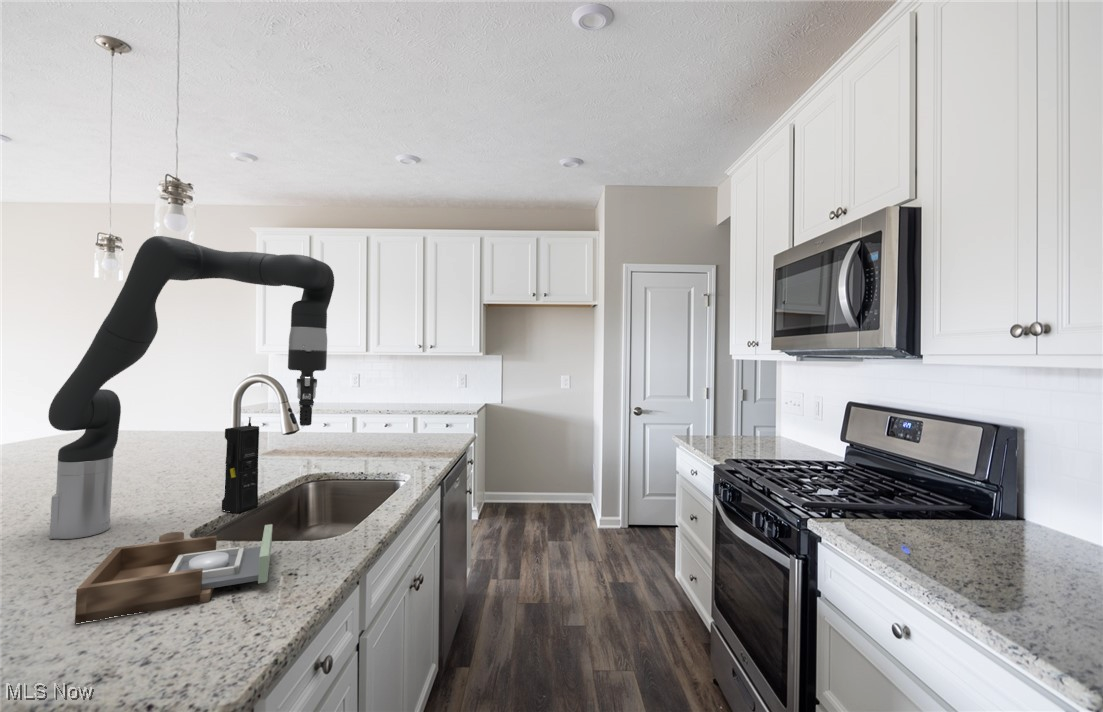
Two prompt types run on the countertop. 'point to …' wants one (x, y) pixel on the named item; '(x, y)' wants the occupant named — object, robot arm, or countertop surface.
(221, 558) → the disc
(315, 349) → the robot arm
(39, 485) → the countertop surface
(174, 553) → the wooden drawer box
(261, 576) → the tray
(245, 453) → the portable radio
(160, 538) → the stand
